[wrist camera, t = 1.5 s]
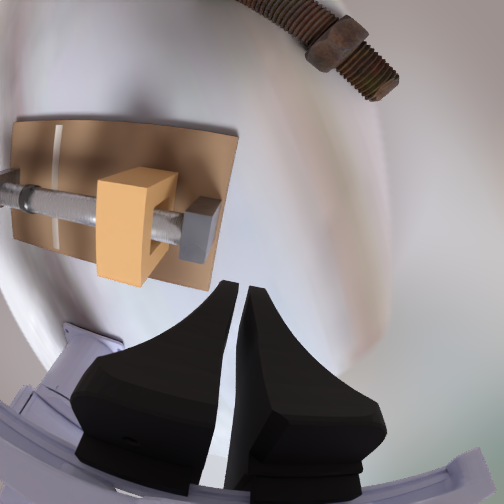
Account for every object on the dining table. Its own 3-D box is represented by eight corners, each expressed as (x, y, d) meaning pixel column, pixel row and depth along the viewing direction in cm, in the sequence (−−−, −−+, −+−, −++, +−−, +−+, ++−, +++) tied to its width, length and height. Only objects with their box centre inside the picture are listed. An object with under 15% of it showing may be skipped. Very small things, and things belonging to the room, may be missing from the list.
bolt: (359, 101, 18) (211, -7, 14) (404, 65, 14) (247, -50, 10) (361, 124, 14) (171, -11, 10) (421, 77, 11) (213, -67, 7)
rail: (223, 198, 20) (212, 217, 15) (215, 236, 21) (203, 265, 16) (15, 166, 18) (-20, 177, 14) (15, 195, 19) (-18, 210, 15)
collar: (178, 172, 18) (147, 188, 13) (168, 249, 20) (140, 287, 15) (139, 166, 18) (97, 180, 13) (132, 241, 20) (97, 275, 15)
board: (239, 137, 18) (238, 137, 17) (209, 287, 23) (208, 292, 22) (17, 122, 16) (13, 122, 16) (17, 236, 21) (13, 238, 21)
